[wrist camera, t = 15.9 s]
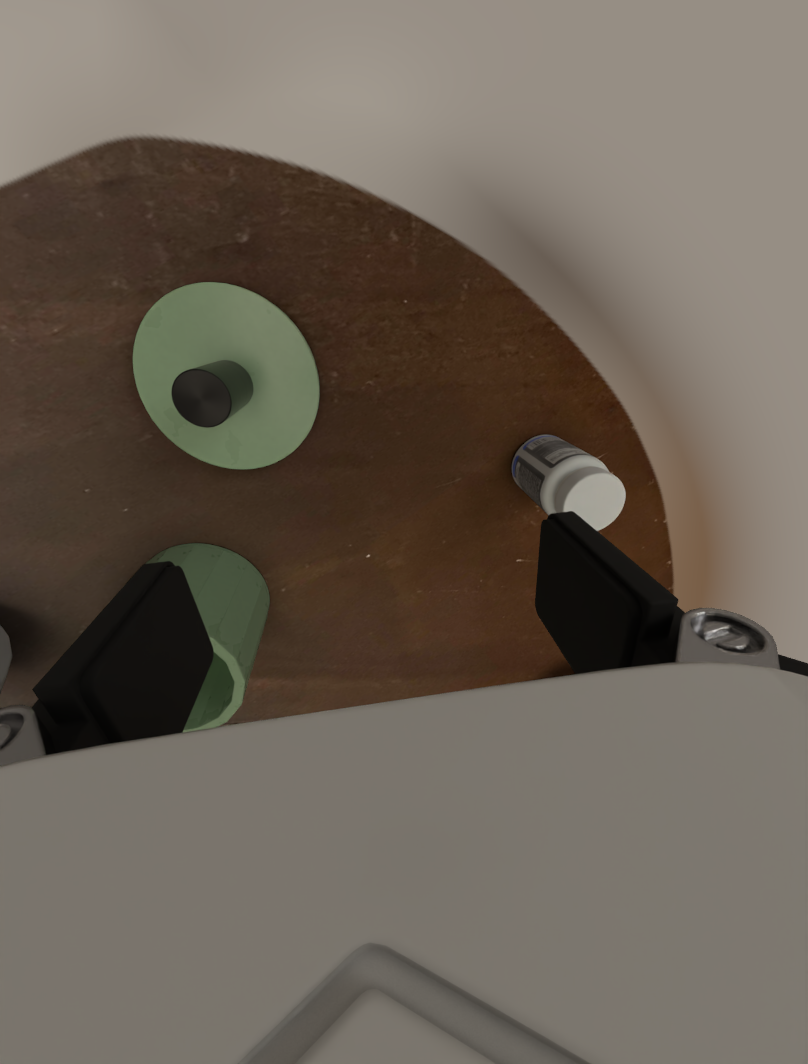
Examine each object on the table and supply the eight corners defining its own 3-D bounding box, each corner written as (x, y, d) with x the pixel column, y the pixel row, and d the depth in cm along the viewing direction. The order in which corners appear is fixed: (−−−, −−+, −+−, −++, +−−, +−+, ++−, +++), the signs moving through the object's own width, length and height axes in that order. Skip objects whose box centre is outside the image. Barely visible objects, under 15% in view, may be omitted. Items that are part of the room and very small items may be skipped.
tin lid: (178, 475, 30) (136, 512, 24) (109, 295, 24) (32, 287, 19) (334, 453, 30) (330, 484, 24) (299, 272, 25) (282, 257, 19)
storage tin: (167, 652, 37) (112, 749, 28) (117, 553, 32) (33, 636, 24) (282, 633, 37) (262, 724, 29) (250, 534, 33) (214, 607, 24)
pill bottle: (545, 499, 34) (598, 549, 27) (499, 476, 33) (542, 522, 25) (580, 449, 32) (648, 487, 25) (533, 422, 31) (590, 454, 23)
